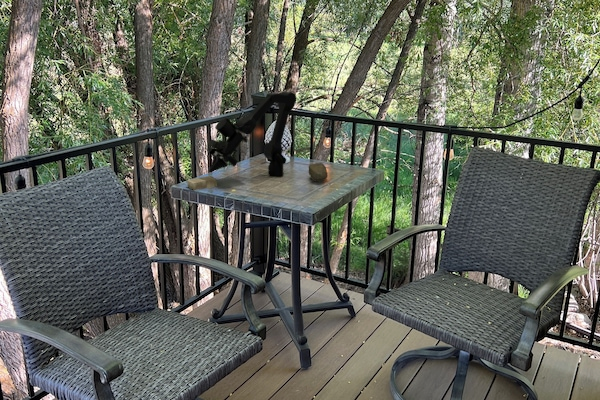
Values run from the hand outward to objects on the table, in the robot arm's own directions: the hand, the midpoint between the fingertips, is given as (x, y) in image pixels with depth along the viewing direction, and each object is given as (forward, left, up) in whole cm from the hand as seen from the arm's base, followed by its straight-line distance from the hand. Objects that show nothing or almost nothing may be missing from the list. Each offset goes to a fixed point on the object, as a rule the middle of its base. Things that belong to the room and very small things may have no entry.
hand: (210, 171), depth 254 cm
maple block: (-1, -1, -4) cm, 5 cm away
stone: (-46, -16, -7) cm, 50 cm away
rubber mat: (-6, -5, -7) cm, 10 cm away
